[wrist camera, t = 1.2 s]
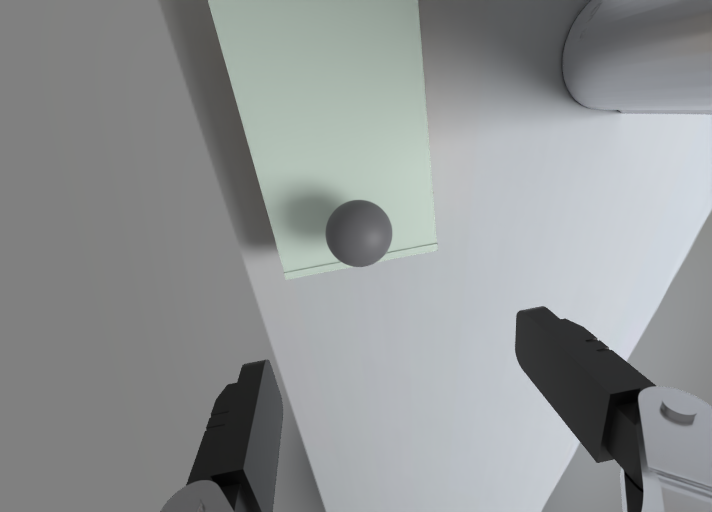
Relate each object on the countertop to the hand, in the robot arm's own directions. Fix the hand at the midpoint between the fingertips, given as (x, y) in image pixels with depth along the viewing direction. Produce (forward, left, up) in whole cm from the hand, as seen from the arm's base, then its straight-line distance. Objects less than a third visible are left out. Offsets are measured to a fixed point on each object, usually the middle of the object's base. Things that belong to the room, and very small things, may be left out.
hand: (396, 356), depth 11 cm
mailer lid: (+3, -4, -19) cm, 20 cm away
